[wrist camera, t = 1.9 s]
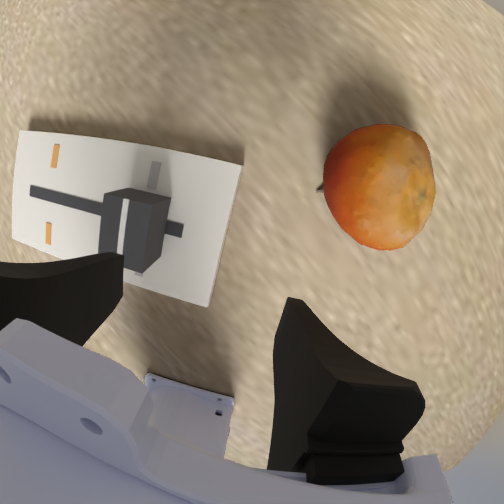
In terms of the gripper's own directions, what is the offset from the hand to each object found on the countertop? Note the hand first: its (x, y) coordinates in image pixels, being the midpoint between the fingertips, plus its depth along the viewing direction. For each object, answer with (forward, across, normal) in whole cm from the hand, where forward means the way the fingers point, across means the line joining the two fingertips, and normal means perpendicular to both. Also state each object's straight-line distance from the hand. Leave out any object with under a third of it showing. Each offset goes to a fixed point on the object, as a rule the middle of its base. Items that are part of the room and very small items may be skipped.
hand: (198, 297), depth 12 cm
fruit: (+11, -9, -6) cm, 15 cm away
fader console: (+11, +11, 0) cm, 16 cm away
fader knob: (+9, +6, 0) cm, 11 cm away
